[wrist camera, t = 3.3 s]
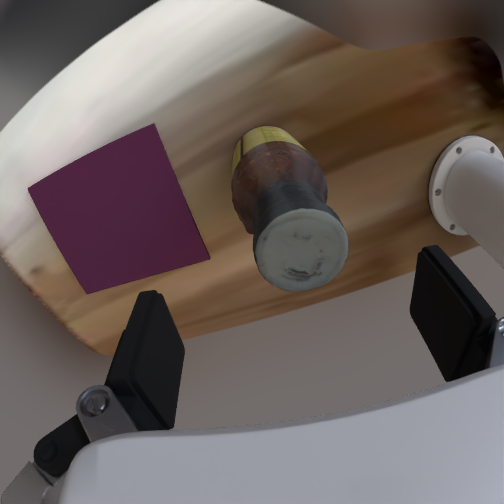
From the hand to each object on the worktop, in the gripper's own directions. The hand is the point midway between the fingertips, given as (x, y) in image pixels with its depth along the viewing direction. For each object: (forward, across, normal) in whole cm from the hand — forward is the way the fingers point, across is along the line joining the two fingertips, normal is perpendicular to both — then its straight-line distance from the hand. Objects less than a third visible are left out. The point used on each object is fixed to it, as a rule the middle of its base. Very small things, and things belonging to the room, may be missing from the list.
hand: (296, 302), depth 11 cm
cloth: (+22, +18, +4) cm, 29 cm away
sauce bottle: (+22, 0, 0) cm, 23 cm away
